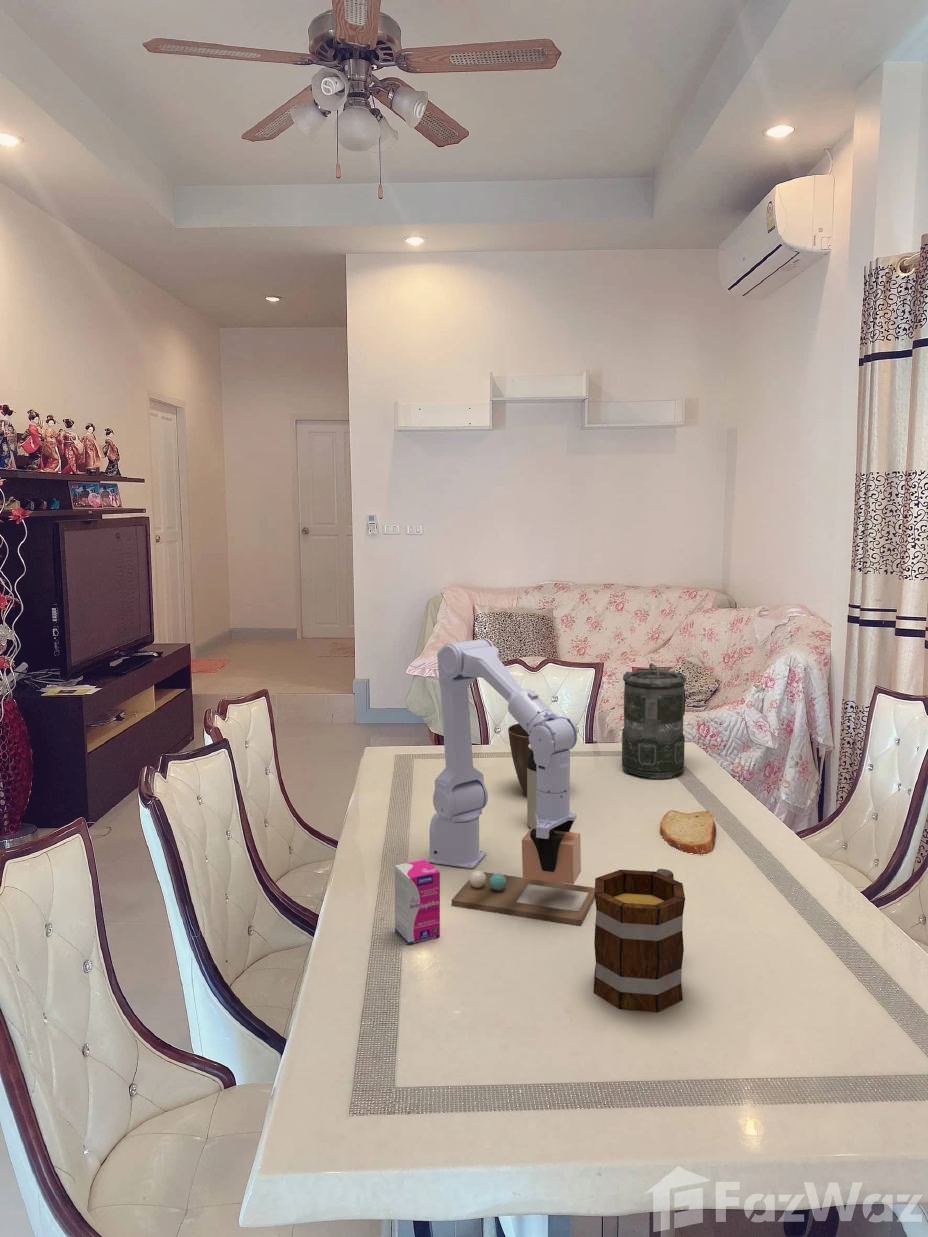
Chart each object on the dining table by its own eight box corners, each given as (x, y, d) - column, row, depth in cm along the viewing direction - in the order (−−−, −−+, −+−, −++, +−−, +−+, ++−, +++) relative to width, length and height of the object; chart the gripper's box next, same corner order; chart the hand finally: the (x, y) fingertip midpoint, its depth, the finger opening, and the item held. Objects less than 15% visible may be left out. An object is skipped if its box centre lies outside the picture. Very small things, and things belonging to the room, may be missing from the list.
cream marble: (467, 889, 159) (467, 873, 159) (472, 882, 162) (472, 866, 162) (483, 891, 158) (482, 875, 158) (488, 884, 161) (488, 869, 161)
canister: (614, 763, 238) (615, 660, 234) (671, 760, 240) (673, 658, 236) (631, 781, 222) (633, 671, 219) (693, 778, 224) (695, 669, 220)
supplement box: (408, 946, 141) (407, 877, 140) (394, 930, 146) (392, 864, 145) (441, 938, 144) (440, 870, 142) (426, 923, 149) (425, 857, 147)
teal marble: (487, 892, 158) (487, 876, 158) (492, 885, 161) (492, 869, 160) (503, 894, 157) (503, 878, 157) (508, 887, 160) (508, 871, 159)
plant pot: (580, 790, 216) (581, 726, 214) (553, 808, 204) (553, 740, 201) (526, 780, 224) (526, 718, 222) (496, 797, 212) (496, 732, 209)
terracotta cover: (522, 878, 154) (521, 839, 153) (531, 866, 159) (530, 828, 158) (573, 884, 151) (572, 844, 150) (581, 871, 156) (580, 833, 155)
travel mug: (522, 829, 191) (522, 748, 188) (533, 817, 198) (533, 738, 196) (558, 834, 188) (558, 751, 185) (568, 821, 195) (568, 742, 193)
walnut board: (451, 905, 155) (451, 899, 155) (476, 876, 167) (476, 870, 167) (580, 926, 147) (580, 919, 147) (597, 893, 159) (597, 887, 159)
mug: (666, 1024, 119) (668, 918, 118) (575, 995, 127) (575, 895, 125) (710, 960, 136) (712, 866, 134) (626, 938, 143) (628, 848, 141)
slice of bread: (698, 860, 175) (699, 841, 174) (631, 833, 189) (631, 816, 189) (755, 839, 185) (756, 822, 184) (687, 815, 199) (688, 799, 199)
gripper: (565, 804, 145) (565, 883, 146) (585, 778, 158) (584, 851, 160) (524, 799, 147) (524, 877, 149) (546, 774, 161) (546, 846, 162)
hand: (552, 863), depth 155 cm, fingers closed on terracotta cover, 6 cm apart
